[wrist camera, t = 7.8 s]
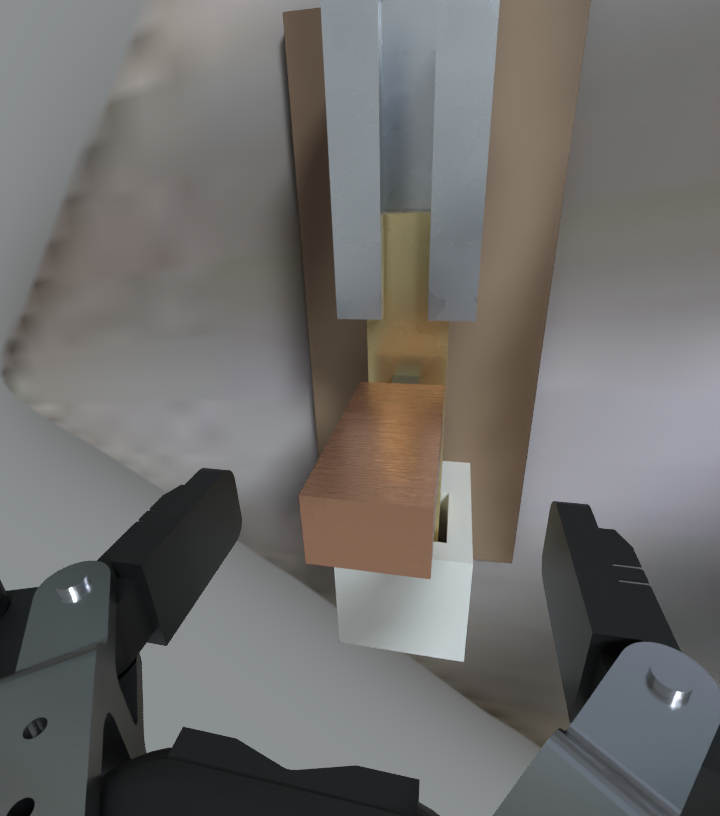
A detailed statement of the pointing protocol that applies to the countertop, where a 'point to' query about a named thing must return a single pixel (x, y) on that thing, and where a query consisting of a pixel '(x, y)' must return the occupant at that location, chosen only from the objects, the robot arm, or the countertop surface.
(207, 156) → the countertop surface
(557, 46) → the base board
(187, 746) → the robot arm
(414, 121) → the sleeve
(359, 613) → the socket
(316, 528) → the sliding latch bolt
